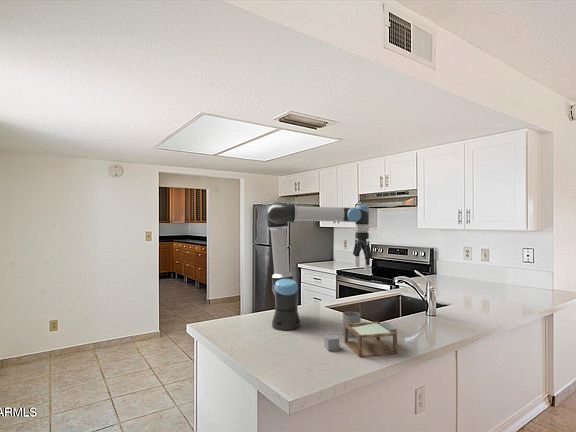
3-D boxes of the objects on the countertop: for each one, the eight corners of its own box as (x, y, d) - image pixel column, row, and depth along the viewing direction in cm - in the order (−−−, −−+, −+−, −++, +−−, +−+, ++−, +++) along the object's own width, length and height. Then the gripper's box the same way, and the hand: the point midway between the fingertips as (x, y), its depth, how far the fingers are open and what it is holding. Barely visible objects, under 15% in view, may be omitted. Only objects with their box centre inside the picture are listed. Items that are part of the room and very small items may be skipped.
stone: (328, 351, 149) (328, 339, 149) (324, 347, 154) (324, 335, 154) (339, 350, 150) (339, 338, 150) (335, 346, 155) (335, 334, 155)
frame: (359, 357, 142) (359, 336, 142) (344, 342, 158) (344, 323, 158) (397, 353, 145) (397, 333, 145) (378, 340, 162) (378, 321, 162)
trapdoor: (361, 340, 144) (361, 336, 144) (350, 330, 157) (349, 327, 157) (398, 333, 148) (398, 329, 148) (384, 324, 160) (383, 321, 160)
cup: (348, 330, 175) (348, 310, 175) (363, 334, 170) (363, 313, 170) (339, 335, 169) (339, 314, 169) (355, 338, 163) (355, 317, 163)
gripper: (378, 232, 191) (378, 272, 191) (359, 231, 215) (359, 265, 215) (365, 232, 189) (365, 272, 189) (347, 231, 214) (347, 266, 214)
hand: (362, 269), depth 202 cm, fingers open, 13 cm apart
